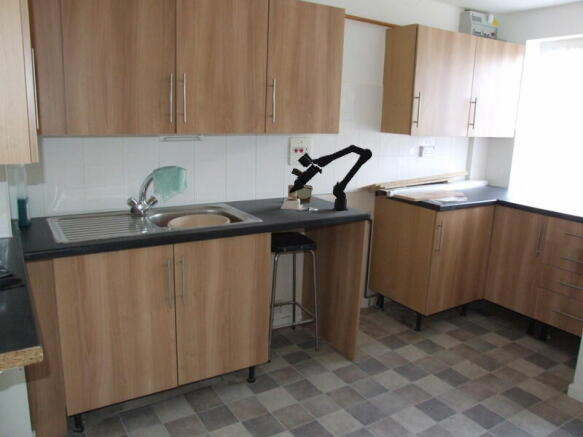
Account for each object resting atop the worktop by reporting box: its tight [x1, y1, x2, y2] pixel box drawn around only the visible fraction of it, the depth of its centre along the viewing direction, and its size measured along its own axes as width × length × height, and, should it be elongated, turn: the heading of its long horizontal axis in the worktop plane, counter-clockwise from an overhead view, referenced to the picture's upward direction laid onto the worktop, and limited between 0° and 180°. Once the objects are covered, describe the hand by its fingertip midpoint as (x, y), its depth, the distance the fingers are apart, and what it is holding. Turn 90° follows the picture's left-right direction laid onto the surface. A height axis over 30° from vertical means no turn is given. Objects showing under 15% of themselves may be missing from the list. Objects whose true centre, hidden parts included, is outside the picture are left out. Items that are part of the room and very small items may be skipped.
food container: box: [297, 184, 314, 204], centre depth 298 cm, size 12×6×10 cm, turn 66°
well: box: [280, 197, 304, 211], centre depth 279 cm, size 12×12×4 cm
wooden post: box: [287, 184, 297, 201], centre depth 278 cm, size 5×5×11 cm
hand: (290, 192), depth 278 cm, fingers closed on wooden post, 4 cm apart
